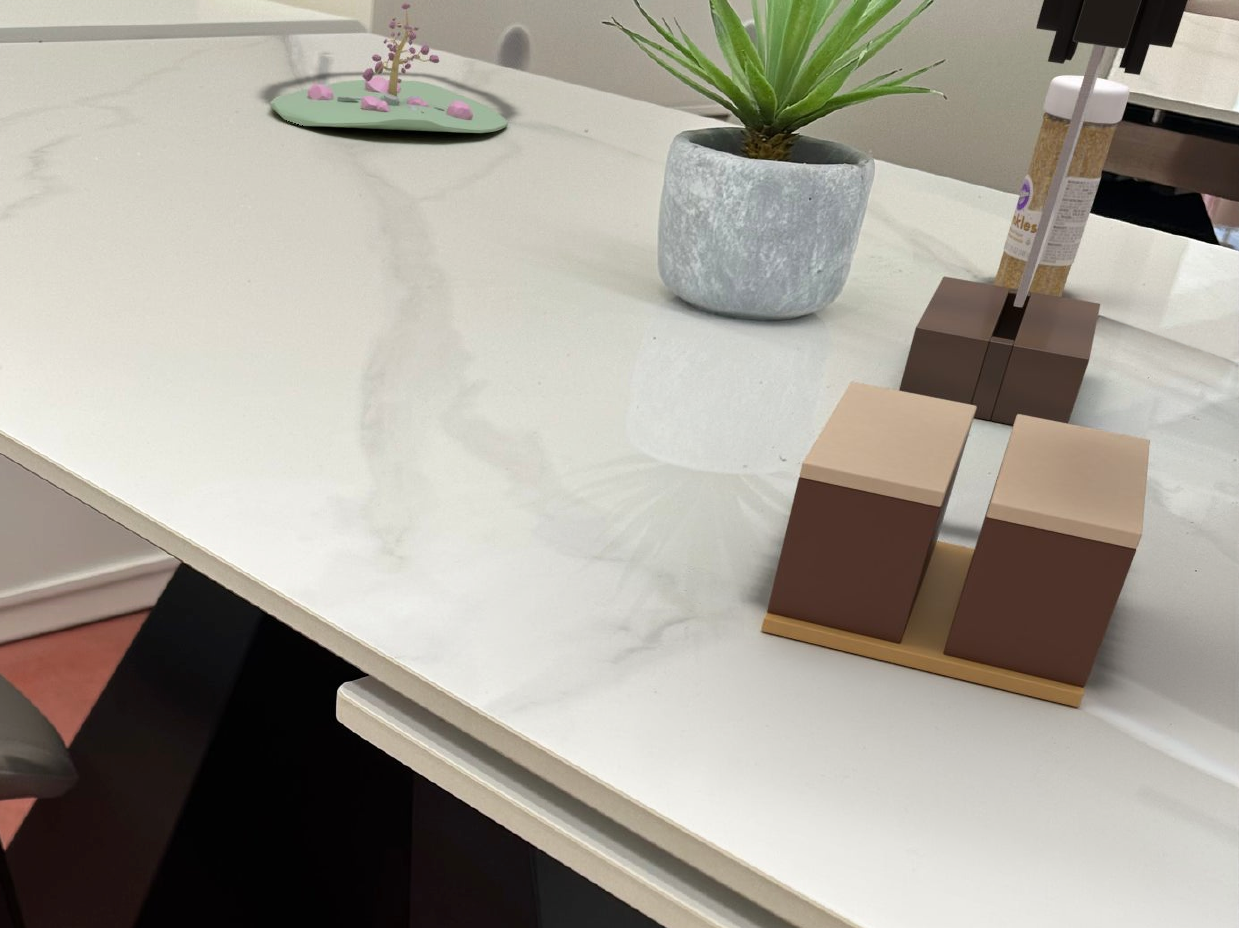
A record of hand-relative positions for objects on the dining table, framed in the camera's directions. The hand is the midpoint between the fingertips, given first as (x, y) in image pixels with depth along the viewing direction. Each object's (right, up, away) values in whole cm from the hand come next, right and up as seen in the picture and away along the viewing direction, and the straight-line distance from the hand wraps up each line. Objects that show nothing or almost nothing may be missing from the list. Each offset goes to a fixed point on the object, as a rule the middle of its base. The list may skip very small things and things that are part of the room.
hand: (1096, 59), depth 55 cm
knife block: (+10, +1, +37) cm, 38 cm away
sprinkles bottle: (+18, +10, +50) cm, 54 cm away
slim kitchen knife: (-1, -6, +4) cm, 7 cm away
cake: (-1, -16, +12) cm, 20 cm away
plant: (-23, +41, +88) cm, 100 cm away
